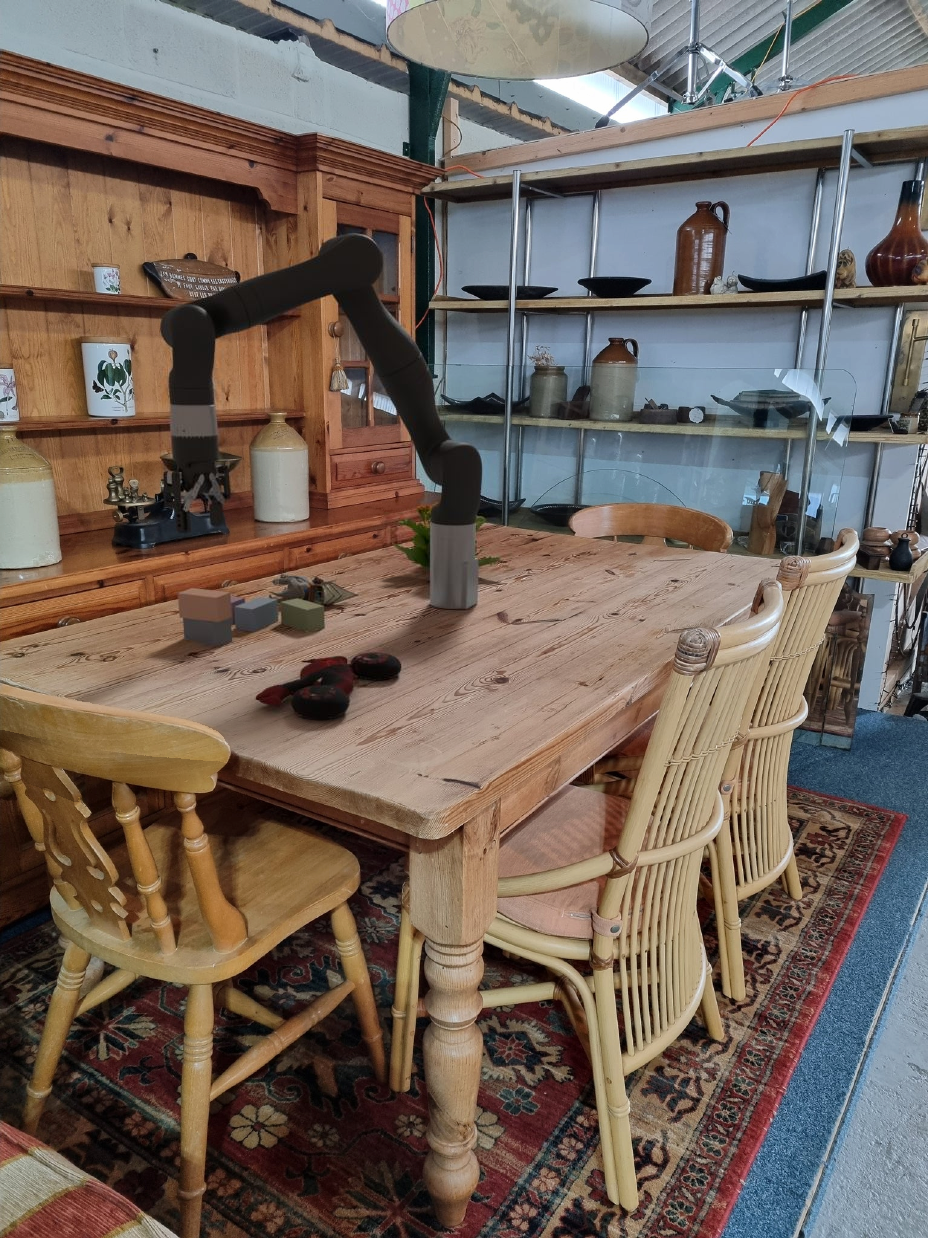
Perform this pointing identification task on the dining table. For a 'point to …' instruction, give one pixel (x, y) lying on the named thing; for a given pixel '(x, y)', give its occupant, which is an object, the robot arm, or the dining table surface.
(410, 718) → the dining table surface
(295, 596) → the figurine
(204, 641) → the charcoal brick
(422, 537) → the potted flower
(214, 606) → the terracotta brick
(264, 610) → the slate blue brick
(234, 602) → the plum brick
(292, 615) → the olive brick
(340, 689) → the toy motorcycle
